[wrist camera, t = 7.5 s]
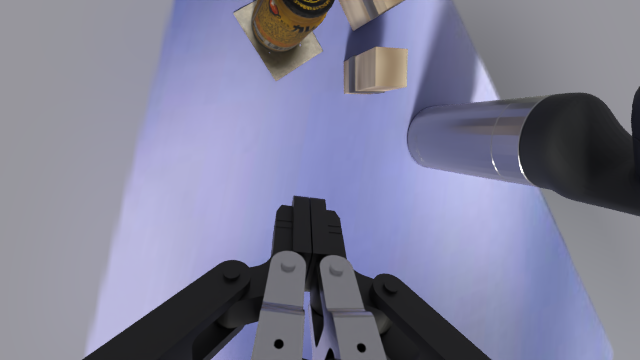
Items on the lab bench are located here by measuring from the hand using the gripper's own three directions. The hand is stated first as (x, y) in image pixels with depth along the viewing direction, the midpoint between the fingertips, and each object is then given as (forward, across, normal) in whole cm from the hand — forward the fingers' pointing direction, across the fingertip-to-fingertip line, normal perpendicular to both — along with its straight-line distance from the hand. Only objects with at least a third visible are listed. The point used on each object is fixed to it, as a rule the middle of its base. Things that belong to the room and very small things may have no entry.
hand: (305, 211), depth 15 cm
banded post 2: (+30, -8, 0) cm, 31 cm away
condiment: (+29, +3, -3) cm, 29 cm away
